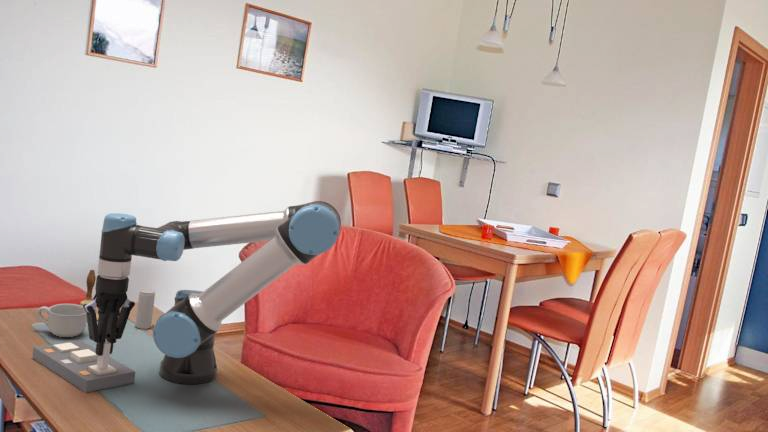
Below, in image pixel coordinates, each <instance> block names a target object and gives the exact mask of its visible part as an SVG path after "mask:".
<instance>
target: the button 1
mask: <svg viewBox="0 0 768 432" xmlns="http://www.w3.org/2000/svg"><path fill="white" fill-rule="evenodd" d="M69 342H70V343H66V342H62V343H63V344H58V343H55V344H56V345H53V348H54V349H55V350H57V351H59V352H60V353H66V352H72V351H78V350H79V349H80V348H79V347H78V346H76V345H74V344H72V343H71V342H72V341H69Z"/></svg>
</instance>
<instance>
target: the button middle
mask: <svg viewBox="0 0 768 432" xmlns="http://www.w3.org/2000/svg"><path fill="white" fill-rule="evenodd" d="M97 358H98V355H97V354H96V353H94V352H93V351H91V350H89V349H85V350H78V351H72V352H71V353H70V359H72V360H73V361H75V362H77V363H78V364H82V363H88V362H94V361H97Z"/></svg>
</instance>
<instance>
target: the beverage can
mask: <svg viewBox="0 0 768 432" xmlns="http://www.w3.org/2000/svg"><path fill="white" fill-rule="evenodd" d="M155 296H156V291H155V290H152V289H147V288H146V289H140V290H139V292H138V302H137V309H136V316H135V326H134V327H136V329H138V328H140V329H139V330H149V329H151V328H152V322H153V321H152V320H153V315H154V314H153V313H154V307H155V299H156V297H155ZM148 328H149V329H148Z"/></svg>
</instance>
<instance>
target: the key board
mask: <svg viewBox="0 0 768 432" xmlns="http://www.w3.org/2000/svg"><path fill="white" fill-rule="evenodd" d="M70 342H71V343H72V344H74V345H76V346H78V347H79V348H80V349H79V350H85V349H89V350H91V351H93V352H94V353H96V347H93V346H91V345H89V344H88V343H86V342H84V341H83V340H80V339H79V340H75V341H74V340H73V341H68V342H65V343H70ZM63 343H64V342H60V343H59V342H58V343H52V344H47V345H38V346H33V348H32V359H33V360H35V361H37V362H38V363H39V364H40V365H42V366H44V367H46V368H47V369H48V370H50V371H51V372H54V373H55V374H56V375H58V376H60V377H61V378H63V379H64V380H65V381H67V382H69V383H70V384H71V385H73V386H75V387H76V388H77V389H79V390H81V391H82V392H84V393H85V394H87V393H90V392H95V391H100V390H105V389H110V388H115V387H120V386H125V385H130V384H134V383H135V378H136V377H135V376H136V371H135V370H133V369H132V368H131V367H128V366H126V365H124V364H123V363H121V362H120V361H118V360H116V359H114V358H112V357H111V356H109V363H108V364H109V365H110V366H112V367H114V368H115V369H116V372H114V373H109V374H103V375H96V374H95V373H93V372H91V371H90V370H88V366H93V365H97V361H94V362H88V363H82V364H78V363H77V362H75V361H73V360H72V359H70V353H71V352H66V353H60V352H59V351H57V350H55V349H54V348H53V345H56V344H63Z"/></svg>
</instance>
